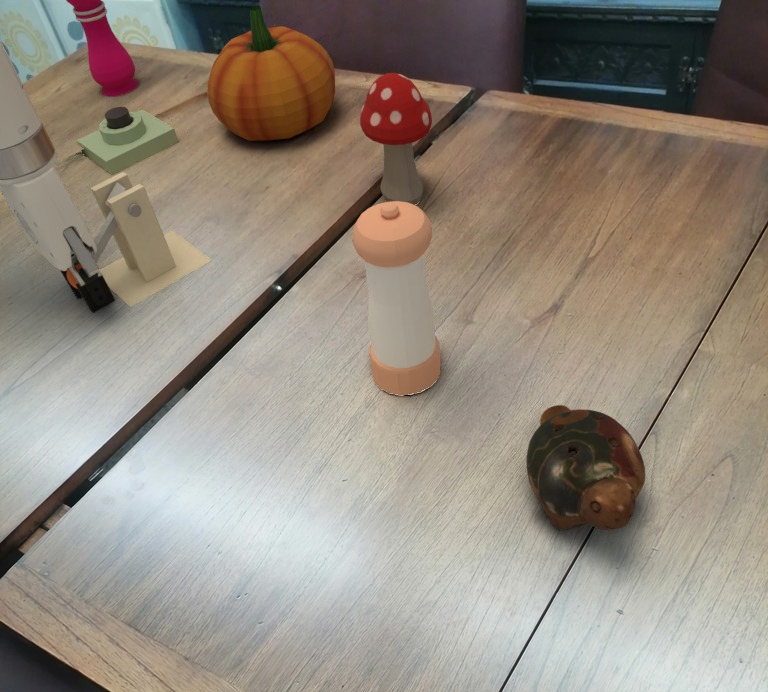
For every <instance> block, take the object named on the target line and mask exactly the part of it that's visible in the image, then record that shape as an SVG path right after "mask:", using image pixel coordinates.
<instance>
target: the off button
mask: <svg viewBox="0 0 768 692" xmlns="http://www.w3.org/2000/svg"><path fill="white" fill-rule="evenodd" d="M129 112H130V110H129V108H127V107H126V106H116V107H112V108H110V109H109V110H106V112H105V113H104V119H105V118H106V121H107V123H108V125H109V128H110V129H121V128H125V127H127V126H129V125H130V124H131V123H132V119H131V116H130V114H129Z"/></svg>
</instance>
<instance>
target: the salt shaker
mask: <svg viewBox="0 0 768 692" xmlns="http://www.w3.org/2000/svg"><path fill="white" fill-rule="evenodd" d="M352 230H353V231H352V238H351V242H352V245H353V247H354V249H355V251H356V253H357V254H358V256H359V257H360V258H361V259H362V260H363V262H364V267H365V274H366V282H367V288H368V307H367V308H368V309H367V310H368V311H367V328H368V329H367V330H368V335H369V339H370V345H369V354H368V355H369V361H370V367H371V373H372V378H373V381H374V384H375V383H376V384H377V385H378V386H379V387H380V388H381V389H383V390H384V391H387V392H388V393H393V394H398V395H408V394H412V393H414V394H415V393H417V392H421V391H422V390H424V389H426V388H428V387H430V386H431V385H432V384H433V383H434V382H435V381H436V380H437V379H438V377H439V378H440V376H439V374H440V375H441V371H440V366H441V365H442V364H441V352H440V351H441V349H440V346H441V345H440V342H439V340H438V337H437V335H436V321H435V320H436V314H435V311H434V307H433V302H432V299H431V294H430V291H429V287H428V281H427V269H426V255H425V253H426V251H427V250H428V248H429V246H430V244H431V241H432V238H433V227H432V224H431V221H430V219H429V218H428V216H427V214H426V213H425V212H424V211H423V210H422V209H421V207H419V206H418V205H417V206H416V205H413V204H410V203H408V202H400V201H392V202H386V201H385V202H381V203H377V204H375V205H373V206H370V207H368V208H367V209H366V210H365V211H363V212H362V213H361V214H360V216H358V219H357V220H356V222H355V223H354V226H353V229H352ZM441 367H442V366H441ZM438 380H439V379H438ZM376 384H375V385H376ZM377 385H376V386H377ZM378 386H377V387H378ZM379 387H378V388H379ZM380 388H379V389H380ZM381 389H380V390H381ZM384 391H383V392H384ZM388 393H387V394H388Z"/></svg>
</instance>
